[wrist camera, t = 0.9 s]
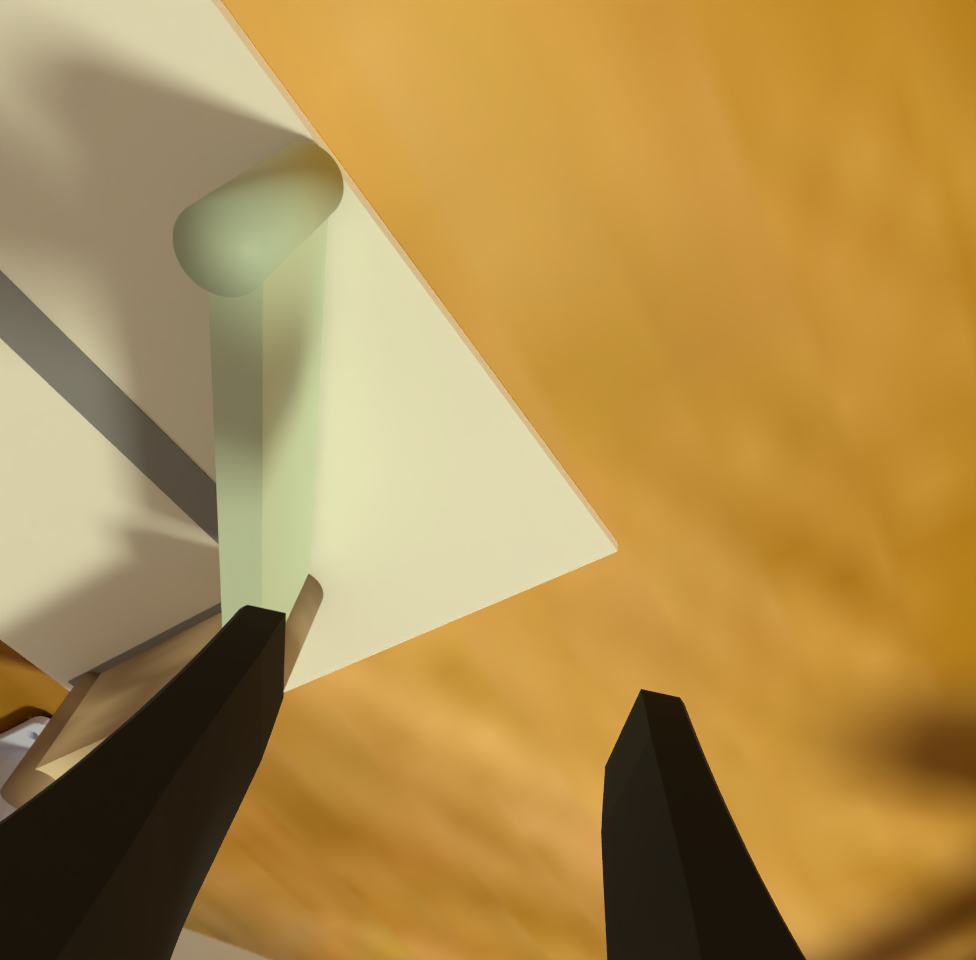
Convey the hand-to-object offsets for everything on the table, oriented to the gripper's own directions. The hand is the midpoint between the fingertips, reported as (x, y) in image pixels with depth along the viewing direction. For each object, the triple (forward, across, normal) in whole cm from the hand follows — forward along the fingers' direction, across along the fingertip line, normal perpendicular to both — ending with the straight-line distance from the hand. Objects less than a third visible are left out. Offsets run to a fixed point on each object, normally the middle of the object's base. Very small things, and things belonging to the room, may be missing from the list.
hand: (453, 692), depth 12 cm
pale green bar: (+9, +5, +1) cm, 10 cm away
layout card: (+9, +11, +4) cm, 15 cm away
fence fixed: (+9, +9, +12) cm, 17 cm away
